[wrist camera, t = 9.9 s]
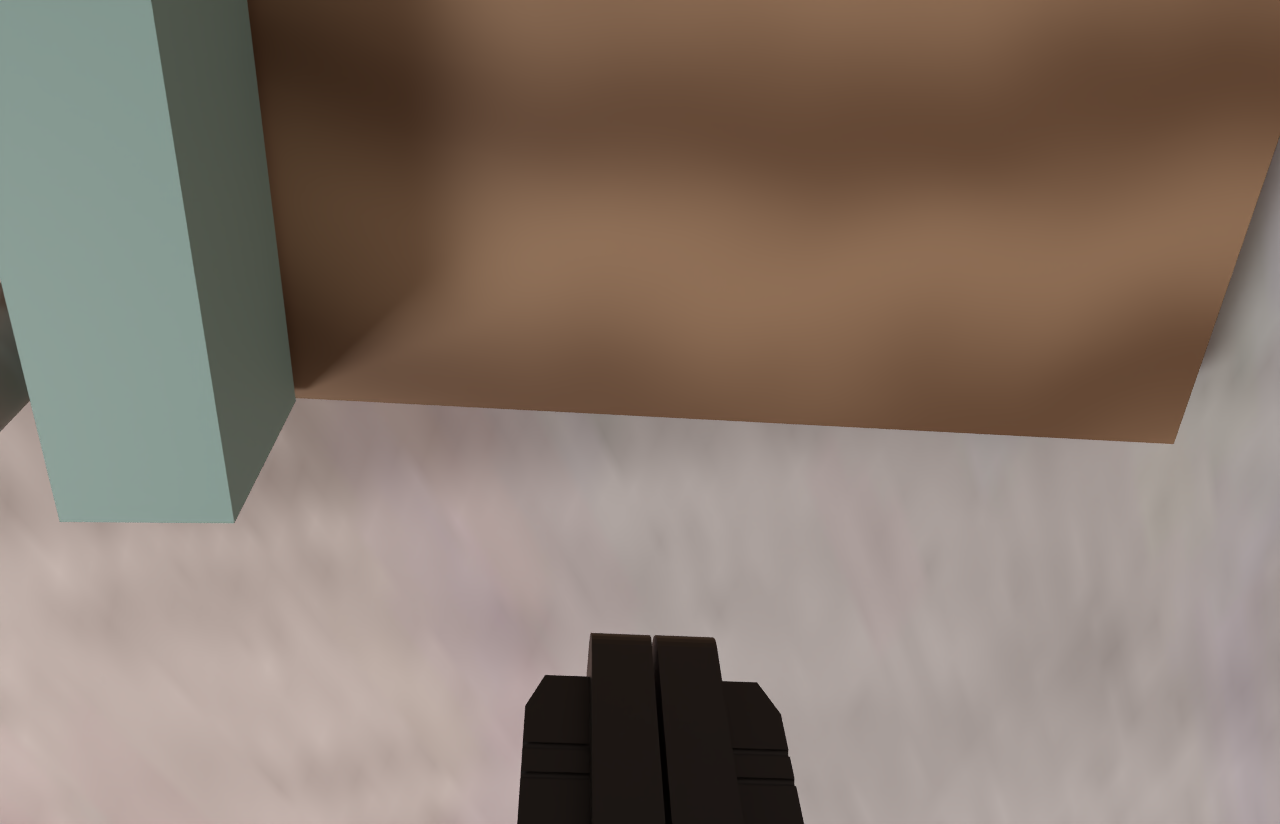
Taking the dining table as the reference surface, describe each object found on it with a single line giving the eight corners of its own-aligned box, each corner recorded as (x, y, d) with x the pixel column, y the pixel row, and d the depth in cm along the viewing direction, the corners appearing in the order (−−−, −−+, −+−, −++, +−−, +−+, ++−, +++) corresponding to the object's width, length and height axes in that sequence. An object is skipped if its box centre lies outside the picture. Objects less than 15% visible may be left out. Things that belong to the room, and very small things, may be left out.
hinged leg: (-13, -345, 19) (-197, -393, 14) (230, -335, 19) (121, -378, 15) (134, 398, 25) (38, 521, 21) (313, 400, 26) (256, 523, 21)
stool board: (-60, -408, 21) (-366, -511, 14) (1340, -268, 23) (1650, -301, 16) (67, 338, 28) (-97, 503, 21) (1130, 396, 30) (1285, 565, 23)
